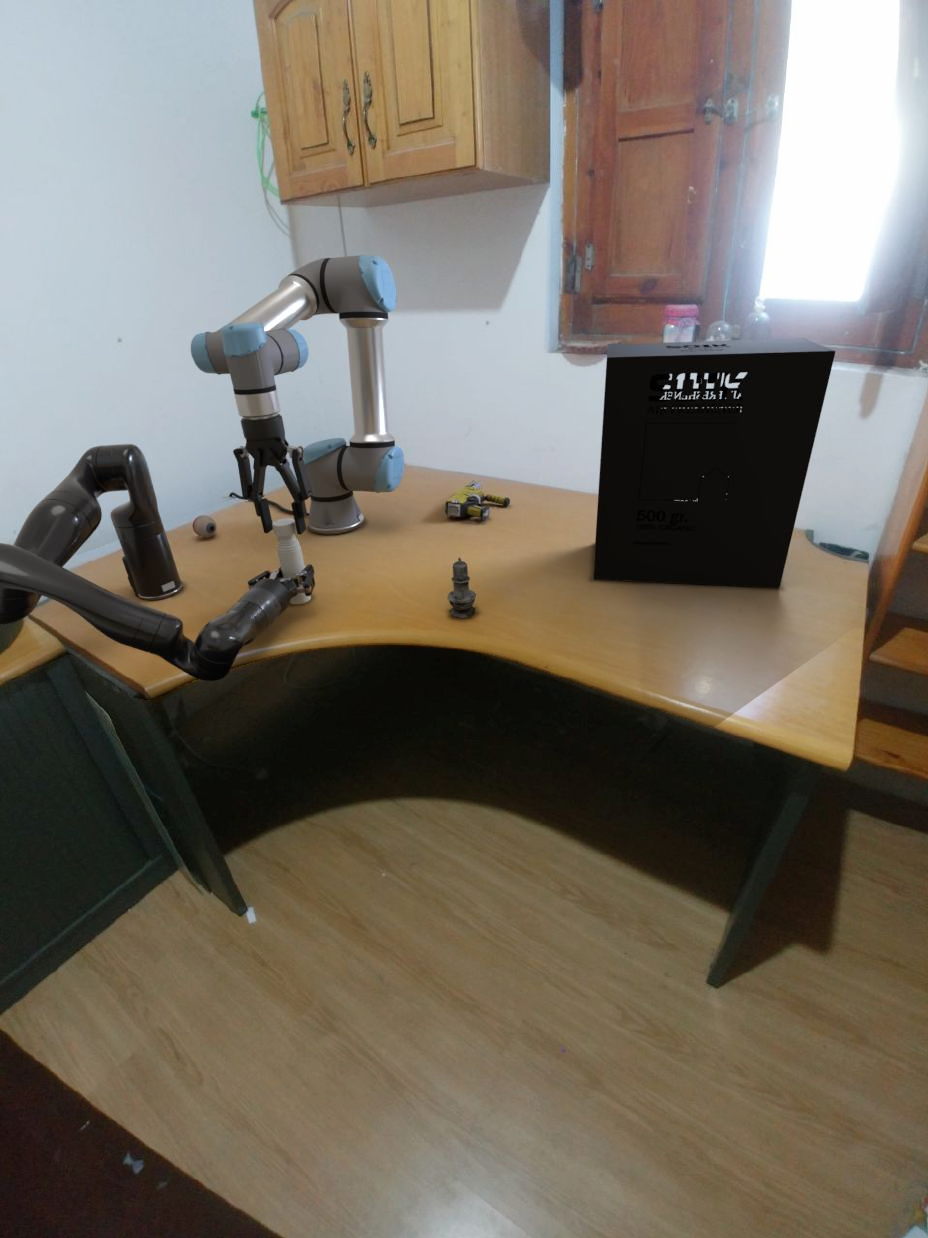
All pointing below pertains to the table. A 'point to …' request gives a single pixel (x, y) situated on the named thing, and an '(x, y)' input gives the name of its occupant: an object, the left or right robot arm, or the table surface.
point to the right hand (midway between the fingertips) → (285, 531)
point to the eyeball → (204, 526)
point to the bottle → (291, 562)
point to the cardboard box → (706, 459)
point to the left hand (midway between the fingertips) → (299, 567)
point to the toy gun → (472, 502)
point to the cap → (284, 527)
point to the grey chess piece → (461, 592)
